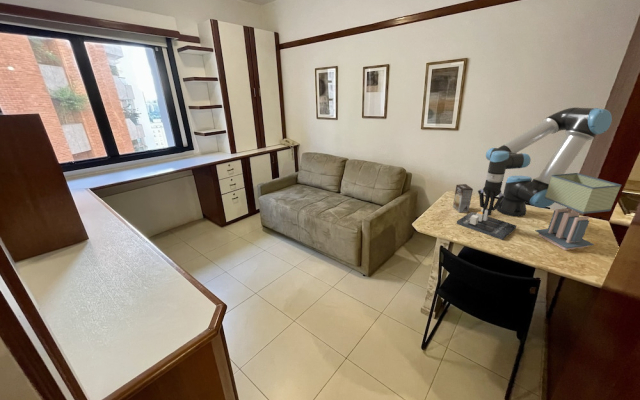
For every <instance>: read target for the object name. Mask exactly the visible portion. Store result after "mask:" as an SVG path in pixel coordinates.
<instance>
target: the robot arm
mask: <svg viewBox="0 0 640 400" xmlns="http://www.w3.org/2000/svg"><path fill="white" fill-rule="evenodd" d="M612 121H613V117H612V113H611V112H610V111H609V110H607V109H605V108H599V107H594V108H592V107H591V108H590V107H568V108H565V109H562V110H560V111H558V112H555V113H553V114H551V115H549V116H548V117H546V118H544V119H542V121H541V122H540V123H539V124H537V125H535V126H534V127H531V128H530V129H528V130H527V131H525V132H523V133H522V134H520V135H518V136H516V137H514V138H513V139H511V140H509V141H508V142H506V143H504V144H503V145H501V146H499V147H498V148H497V147H491V148H488V149H487V151H486V153H485V159H486V160H487V161H489V163H488V170H487V173H486V177H485V178H486V179H485V183H484V187H483V188H482V189H479V190H477V192H478V195H479V197H478V198H479V207H480V208H482V209H483V214H484V217H483V220H484V221H486V220H488V217H490V216H491V215H492V212H493V211H497V212H498V213H501V214H503V215H506V216H509V217H524V216H526V215H527V206H526V203H527V204H530V205H531V206H533V207H536V208H539V209H545V208H547V207H550V206H552V205H554V204H555V202H552V201H550V200H547V199H545V196H546V193H547V189H548V186H549V183H550V180H551V177H552V175H559V174H566V171H568V169H569V168H570V166H571V165H572V163H573V162H574V161H575V159H576V158H577V156H578V155H579V154H580V152H581V151H582V149H583V147H584V146H585V145H586V144H587V142H588V141H591V140H594V138H595V137H596V136H597V135H601V134H603V133H605V132H607V130H608V129H610V126H611V125H612ZM562 131H565V132H564V133H565V135H566V136H565V137H564V138H563V140H562V142H561V143H560V144H559V146H558V147H557V149H556V150H555V152H554V154H553V155H552V156H551V158H549V161H548V162H547V164H546V165H545V167H544V169H543V170H542V171H541V173H540V174H539V176H537V177H535V178H533V177H531V176H526V175H511V176H508V177H507V178H506V181H505V185H504V189H503V192H502V186H503V181H504V178H505V173H506V170H515V169H522V168H523V169H524V168H527V167H528V166H530V164H531V156H530V155H529V154H528V153H522V152H521V153H519V152H520V151H522V150H524V149H526V148H528V147H529V146H531V145H532V144H534V143H536V142H539V141H540V140H542V139H544V138H546V137H547V136H548V135H550V134H555V133H558V132H562ZM484 194H485V195H484ZM497 196H498V198H497V200H496V202H495V199H496V197H497ZM494 203H495V204H494Z"/></svg>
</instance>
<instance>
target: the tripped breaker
mask: <svg viewBox="0 0 640 400" xmlns="http://www.w3.org/2000/svg"><path fill="white" fill-rule="evenodd" d="M476 213H477V215H476V216H479V219H478V221H480V222H481V221H483V217H484V214H483V212H481V211H478V212H476Z"/></svg>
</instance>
